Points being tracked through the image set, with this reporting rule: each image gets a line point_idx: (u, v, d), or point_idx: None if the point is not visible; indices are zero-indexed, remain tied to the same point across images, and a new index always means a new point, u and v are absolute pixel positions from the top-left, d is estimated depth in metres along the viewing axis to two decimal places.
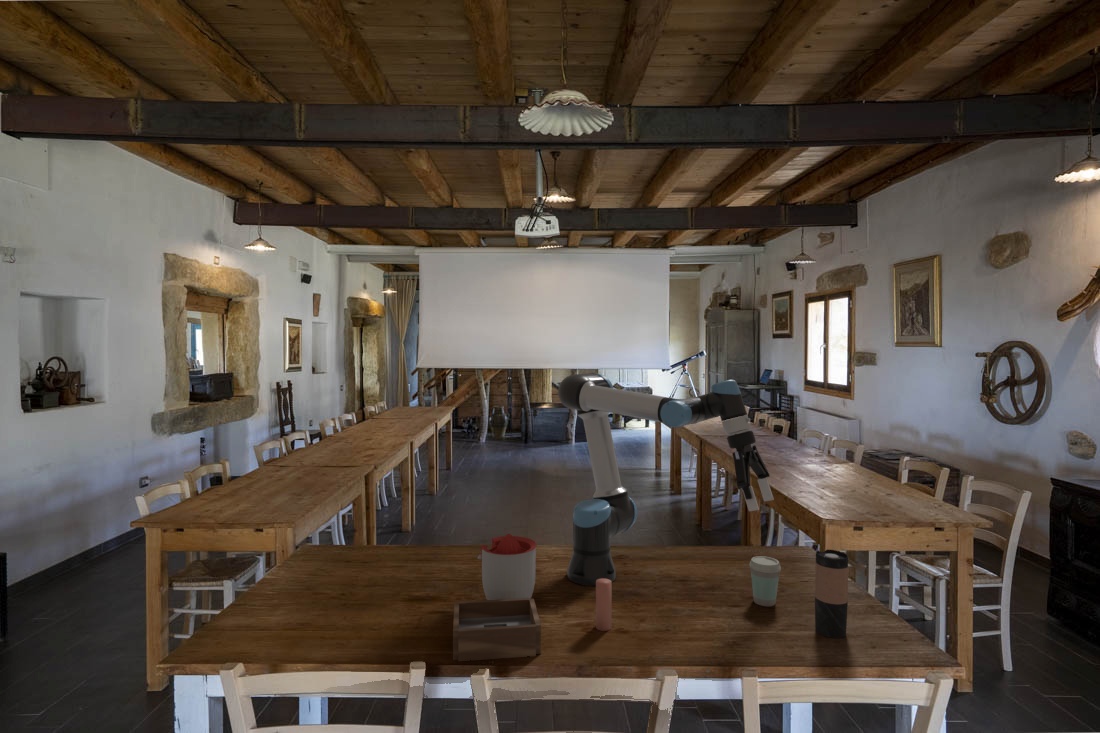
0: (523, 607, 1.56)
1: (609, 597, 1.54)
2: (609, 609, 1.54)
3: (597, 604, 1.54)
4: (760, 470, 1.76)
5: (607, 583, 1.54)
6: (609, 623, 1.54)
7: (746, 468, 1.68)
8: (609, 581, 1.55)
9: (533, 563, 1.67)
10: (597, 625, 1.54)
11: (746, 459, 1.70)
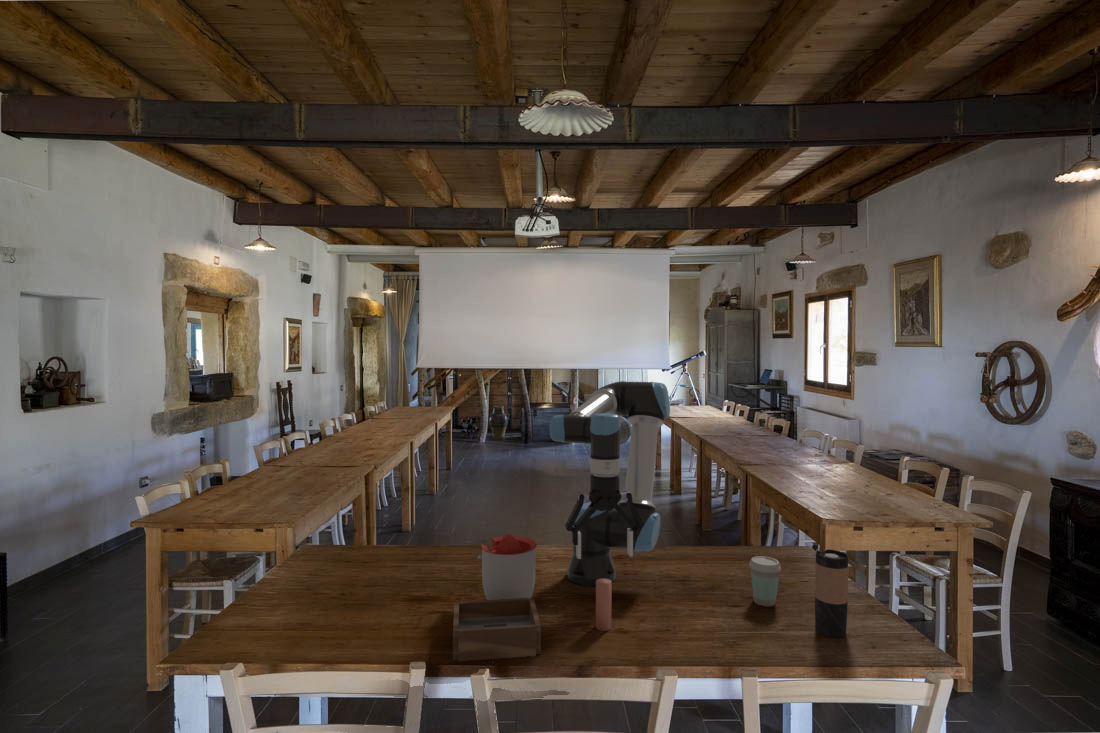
0: (523, 607, 1.56)
1: (609, 597, 1.54)
2: (609, 609, 1.54)
3: (597, 604, 1.54)
4: (625, 520, 1.55)
5: (608, 583, 1.54)
6: (609, 623, 1.54)
7: (586, 513, 1.53)
8: (609, 581, 1.55)
9: (533, 563, 1.67)
10: (597, 625, 1.54)
11: (594, 504, 1.53)
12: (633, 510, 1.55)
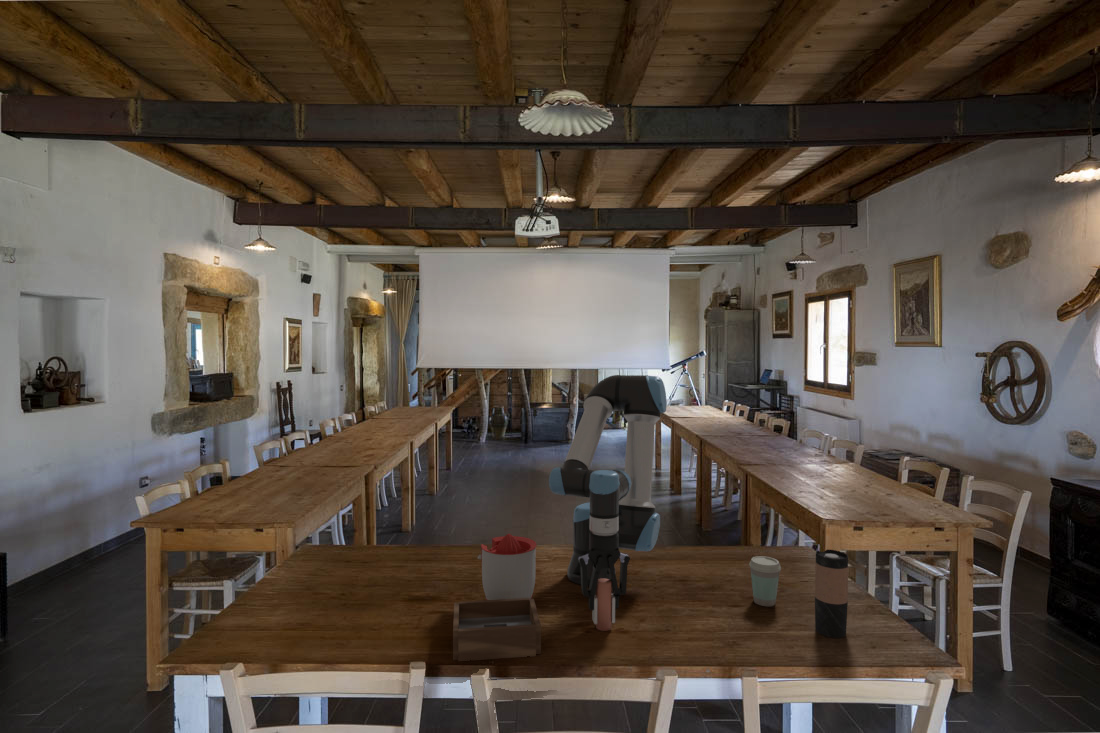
0: (523, 607, 1.56)
1: (609, 597, 1.54)
2: (609, 609, 1.54)
3: (597, 604, 1.54)
4: (612, 583, 1.55)
5: (608, 582, 1.54)
6: (609, 623, 1.54)
7: (593, 576, 1.54)
8: (609, 581, 1.55)
9: (533, 563, 1.67)
10: (597, 625, 1.54)
11: (593, 562, 1.54)
12: (624, 574, 1.55)
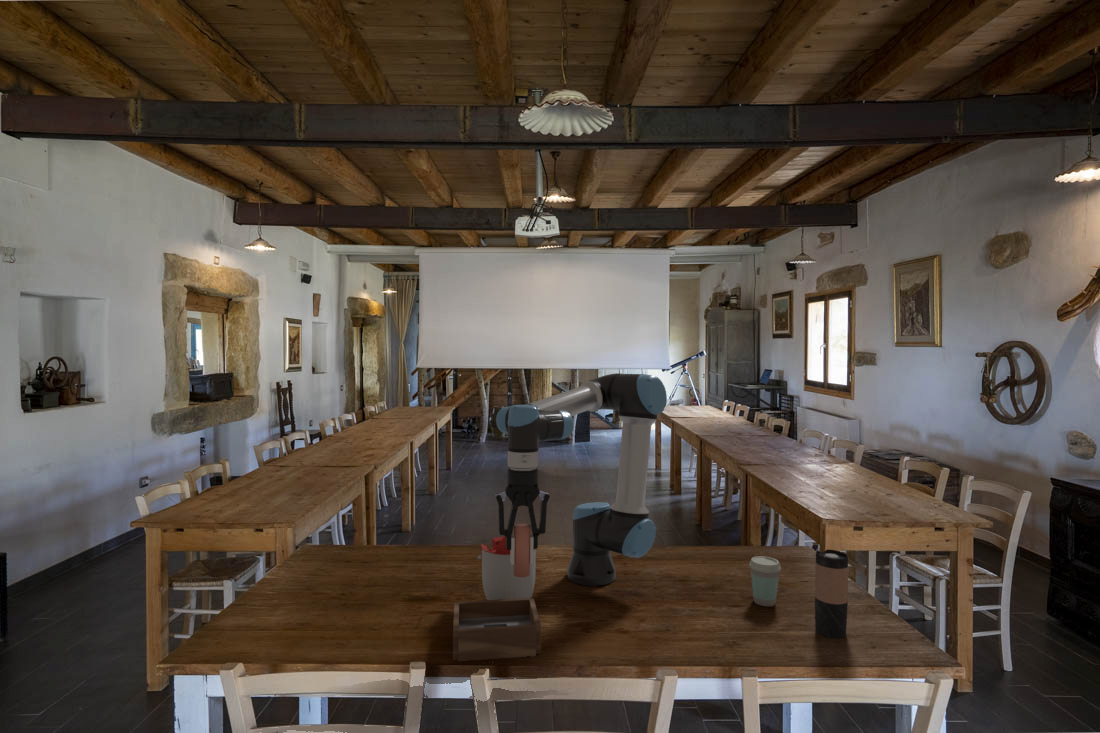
0: (523, 607, 1.56)
1: (527, 542, 1.47)
2: (527, 555, 1.47)
3: (515, 549, 1.47)
4: (530, 522, 1.48)
5: (526, 527, 1.47)
6: (527, 569, 1.47)
7: (511, 514, 1.47)
8: (528, 526, 1.48)
9: (533, 563, 1.67)
10: (514, 571, 1.47)
11: (510, 499, 1.47)
12: (543, 512, 1.48)
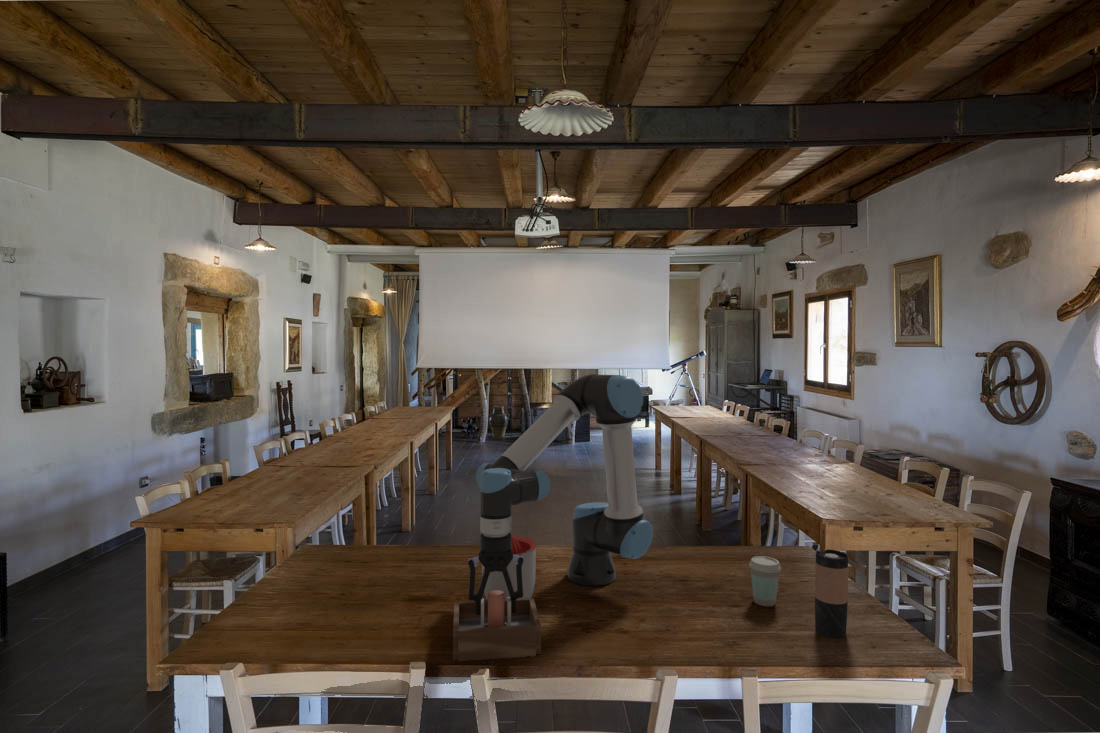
0: (523, 607, 1.56)
1: (501, 610, 1.46)
2: (501, 623, 1.46)
3: (488, 617, 1.46)
4: (507, 586, 1.47)
5: (499, 595, 1.46)
6: None
7: (482, 579, 1.46)
8: (502, 593, 1.47)
9: (533, 563, 1.67)
10: None
11: (483, 565, 1.46)
12: (518, 576, 1.47)
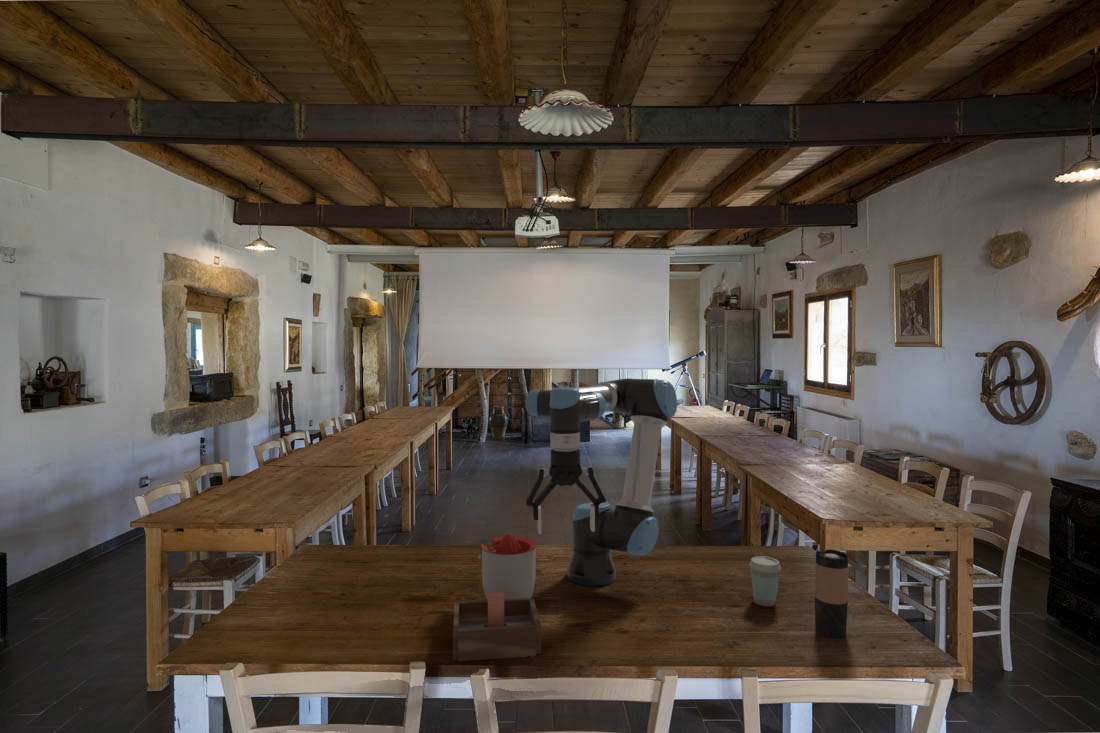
0: (523, 607, 1.56)
1: (501, 610, 1.46)
2: (501, 623, 1.46)
3: (488, 617, 1.46)
4: None
5: (499, 595, 1.46)
6: None
7: (546, 488, 1.51)
8: (502, 593, 1.47)
9: (533, 563, 1.67)
10: None
11: (554, 479, 1.51)
12: (594, 485, 1.52)
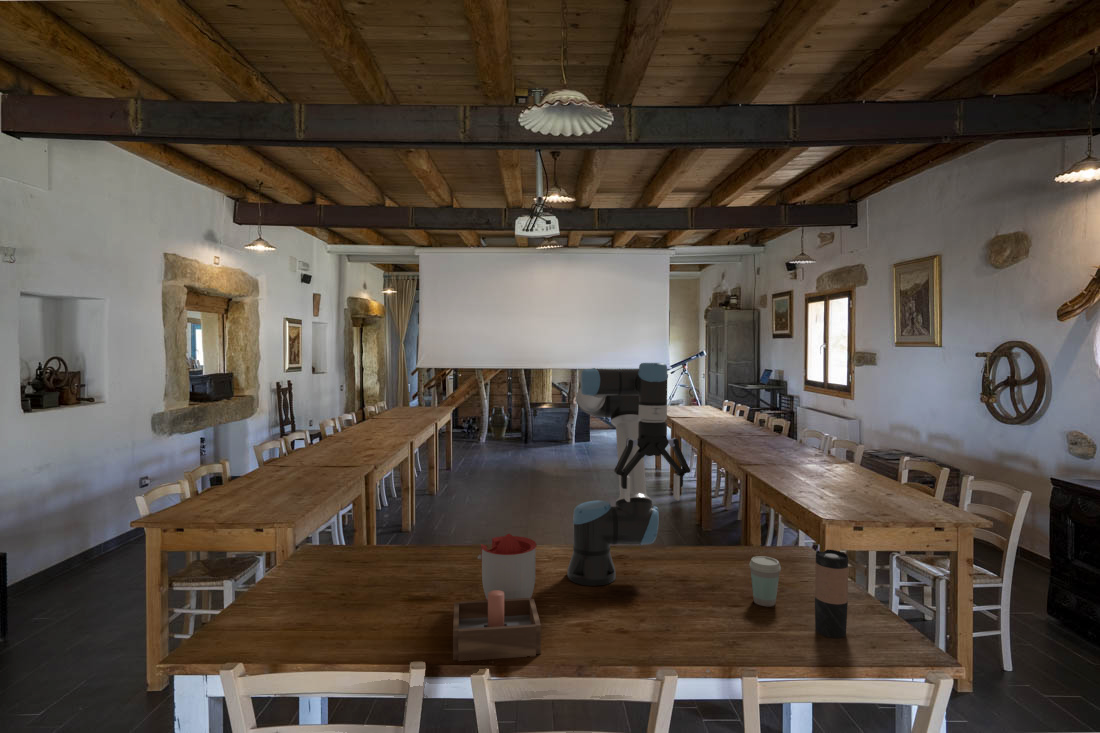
0: (523, 607, 1.56)
1: (501, 610, 1.46)
2: (501, 623, 1.46)
3: (488, 617, 1.46)
4: (672, 465, 1.60)
5: (499, 595, 1.46)
6: None
7: (635, 458, 1.59)
8: (502, 593, 1.47)
9: (533, 563, 1.67)
10: None
11: (642, 450, 1.59)
12: (680, 455, 1.60)
